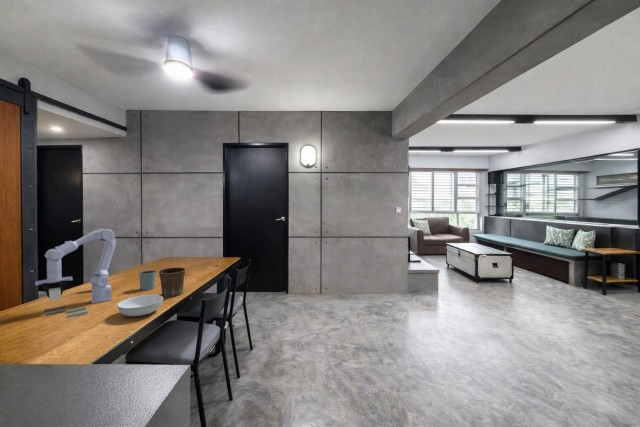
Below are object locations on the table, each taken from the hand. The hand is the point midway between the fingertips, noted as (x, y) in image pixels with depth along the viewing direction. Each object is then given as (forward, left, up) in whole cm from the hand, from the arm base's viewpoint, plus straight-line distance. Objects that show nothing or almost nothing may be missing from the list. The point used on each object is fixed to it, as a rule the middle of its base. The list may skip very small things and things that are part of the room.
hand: (54, 295), depth 151 cm
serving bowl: (-32, +35, -9) cm, 48 cm away
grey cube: (0, 0, -1) cm, 1 cm away
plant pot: (-55, +13, -9) cm, 58 cm away
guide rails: (-4, +6, -9) cm, 11 cm away
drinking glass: (-48, -12, -9) cm, 50 cm away
